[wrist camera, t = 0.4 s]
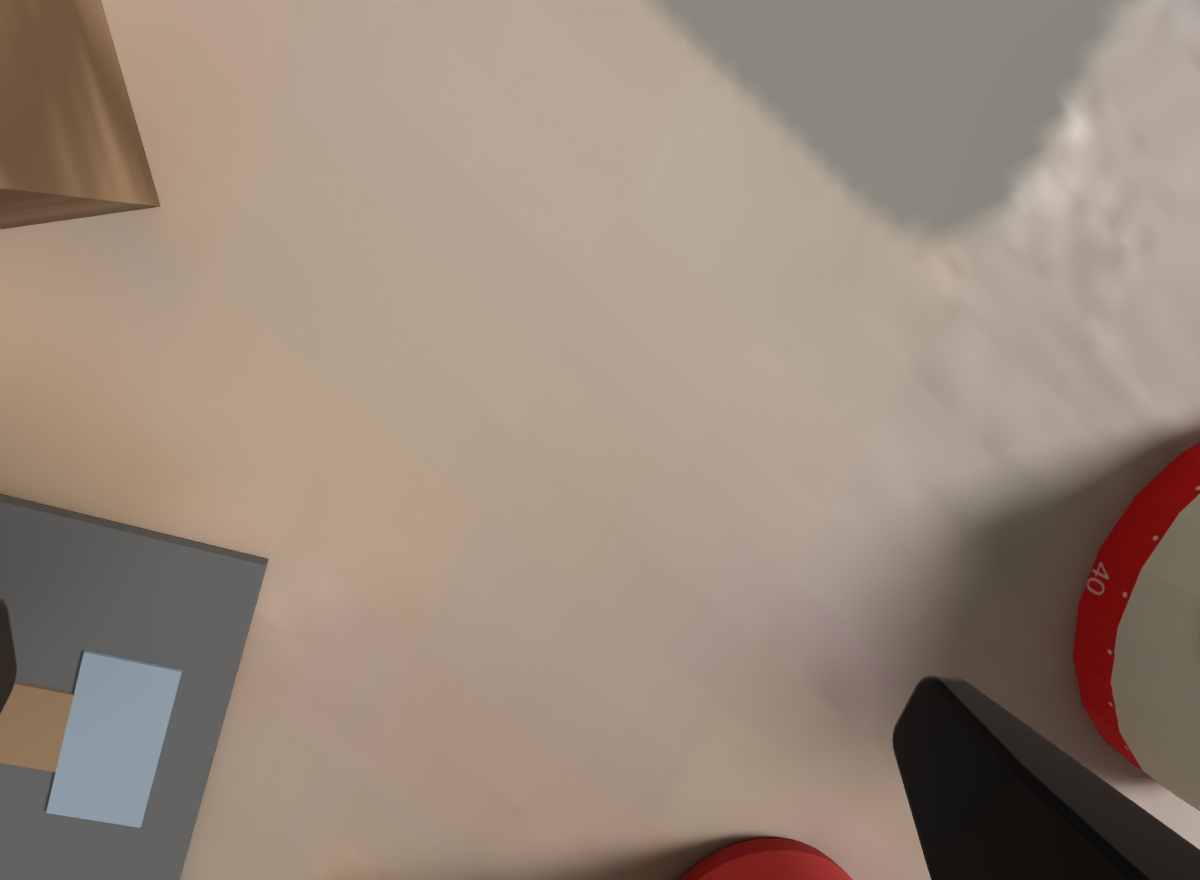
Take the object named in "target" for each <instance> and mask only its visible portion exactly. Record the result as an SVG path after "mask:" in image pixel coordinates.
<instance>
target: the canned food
mask: <svg viewBox="0 0 1200 880" xmlns="http://www.w3.org/2000/svg"><path fill="white" fill-rule="evenodd" d="M680 880H852V878H851V877H850V876H849V875H848V874H847V873H846V872H845V871H844V870H843V869H842V868H841V867H839V866H838V865H837V864H836V863H835V862H834V861H833V860H831V859H830V858H829V857H828V856H826V855H825V854H823V853H822V852H820V851H819V850H817V849H816V848H814V847H811V846H809V845H806V844H804V843H801V842H798V841H793V840H787V839H781V838H762V839H755V840H750V841H744V842H739V843H737V844H734V845H731V846H729V847H726V848H723V849H721V850H719V851H717V852H715V853H713V854H712V855H710V856H708V857H707V858H705V859H703V860H701V861H700V862H699V863H698V864H696V865H695V866H694V867H693V868H692V869H690V870H689V871H688V872H687V873H686V874H685V875H684V876H683V877H682V878H681V879H680Z"/></svg>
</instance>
